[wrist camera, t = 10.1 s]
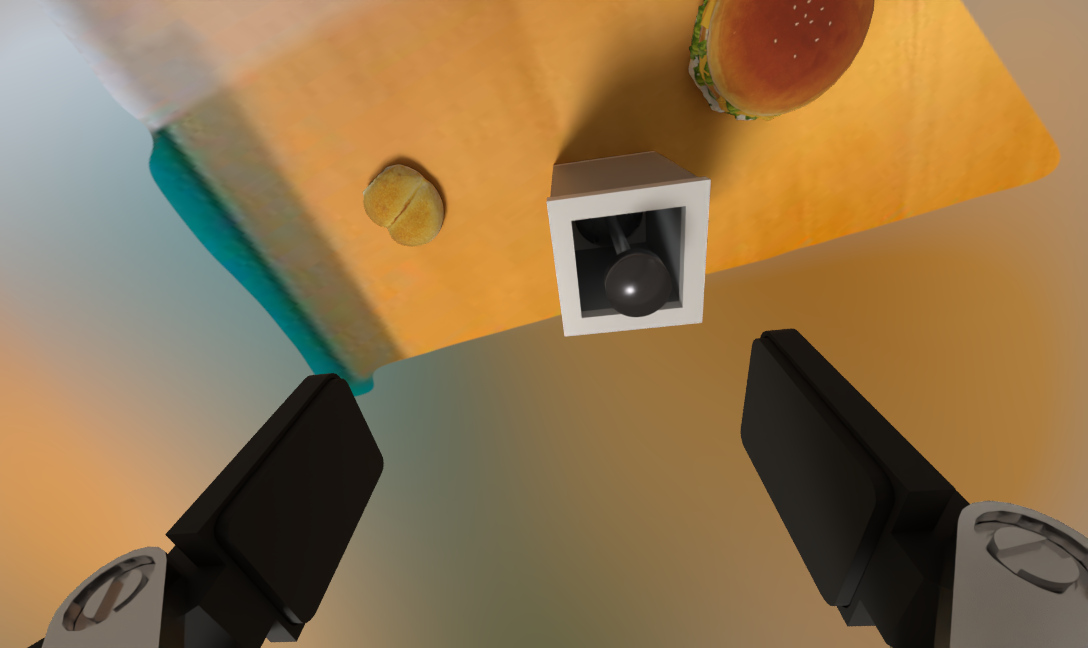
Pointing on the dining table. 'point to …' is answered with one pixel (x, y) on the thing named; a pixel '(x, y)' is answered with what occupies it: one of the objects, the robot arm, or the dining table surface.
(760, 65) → the burger
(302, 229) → the dining table surface
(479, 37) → the dining table surface
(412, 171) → the bread roll
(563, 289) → the grey tall box
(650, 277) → the plunger
